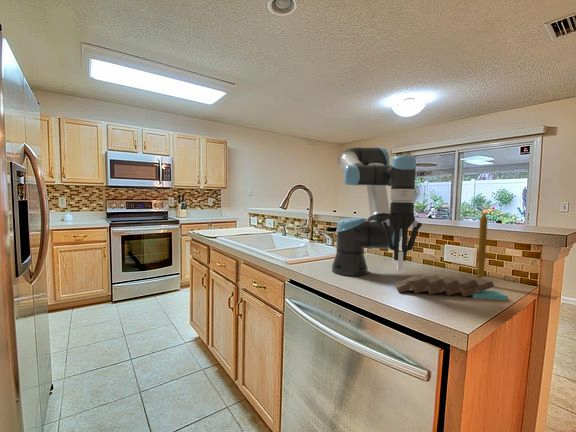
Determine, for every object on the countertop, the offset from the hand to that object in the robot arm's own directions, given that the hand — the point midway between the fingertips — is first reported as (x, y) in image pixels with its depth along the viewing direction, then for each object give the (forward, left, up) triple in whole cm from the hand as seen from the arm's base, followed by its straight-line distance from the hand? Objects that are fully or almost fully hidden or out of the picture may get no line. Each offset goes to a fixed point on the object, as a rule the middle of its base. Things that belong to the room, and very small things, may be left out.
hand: (399, 269), depth 98 cm
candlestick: (+32, +14, -8) cm, 36 cm away
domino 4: (+14, 0, -6) cm, 16 cm away
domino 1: (-1, 0, -7) cm, 7 cm away
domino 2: (+4, 0, -6) cm, 8 cm away
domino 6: (+23, 0, -7) cm, 24 cm away
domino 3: (+9, 0, -7) cm, 11 cm away
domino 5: (+19, 0, -6) cm, 20 cm away
